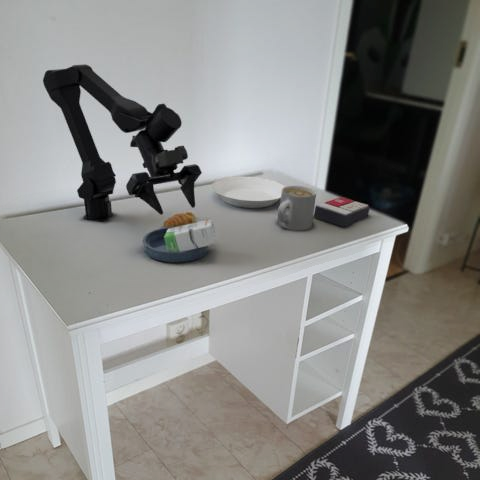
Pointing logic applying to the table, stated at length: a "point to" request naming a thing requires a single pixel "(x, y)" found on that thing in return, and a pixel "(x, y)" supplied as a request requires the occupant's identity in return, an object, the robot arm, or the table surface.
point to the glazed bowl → (158, 249)
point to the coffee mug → (296, 207)
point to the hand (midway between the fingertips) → (178, 210)
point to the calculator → (341, 211)
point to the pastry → (180, 220)
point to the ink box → (190, 236)
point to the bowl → (248, 191)
